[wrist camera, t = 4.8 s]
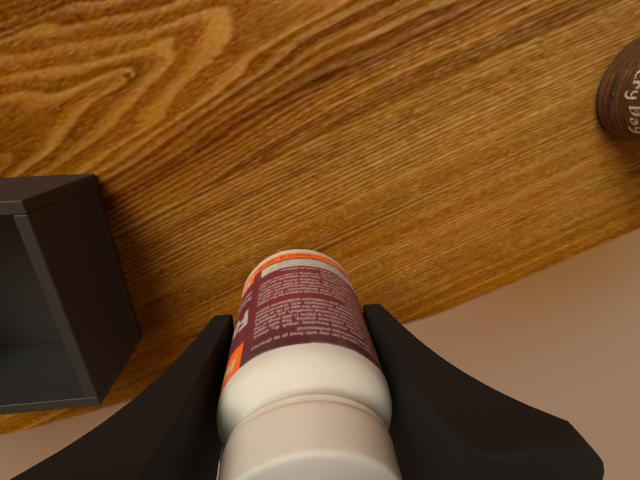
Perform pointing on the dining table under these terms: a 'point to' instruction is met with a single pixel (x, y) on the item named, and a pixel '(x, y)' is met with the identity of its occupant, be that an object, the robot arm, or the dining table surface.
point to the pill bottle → (303, 379)
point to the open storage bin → (59, 296)
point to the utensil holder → (622, 94)
